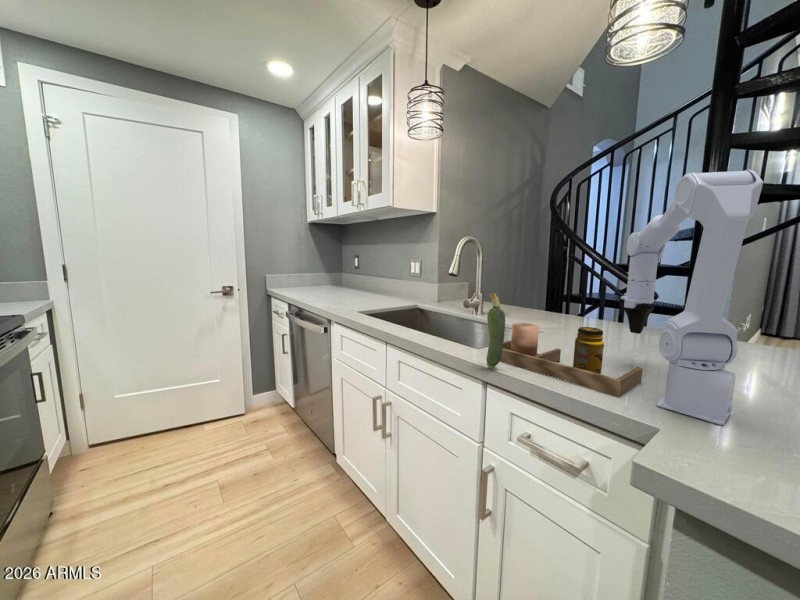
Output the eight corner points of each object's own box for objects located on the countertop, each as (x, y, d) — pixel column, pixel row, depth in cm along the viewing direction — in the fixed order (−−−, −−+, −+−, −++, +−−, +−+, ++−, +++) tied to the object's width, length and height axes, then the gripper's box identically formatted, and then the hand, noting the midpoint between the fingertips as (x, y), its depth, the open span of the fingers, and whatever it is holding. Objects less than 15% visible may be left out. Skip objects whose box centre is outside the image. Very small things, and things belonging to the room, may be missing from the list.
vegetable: (500, 367, 86) (504, 291, 83) (504, 372, 82) (508, 293, 79) (483, 366, 86) (487, 291, 84) (486, 372, 82) (490, 293, 79)
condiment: (609, 381, 77) (614, 331, 75) (578, 383, 75) (582, 333, 74) (586, 370, 84) (590, 325, 82) (557, 372, 82) (560, 326, 81)
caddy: (640, 382, 76) (645, 341, 75) (618, 397, 68) (623, 351, 67) (515, 349, 102) (517, 318, 101) (488, 357, 94) (489, 324, 92)
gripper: (633, 278, 91) (628, 326, 93) (612, 281, 82) (607, 333, 84) (664, 280, 85) (658, 331, 87) (646, 283, 77) (640, 339, 78)
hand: (635, 332), depth 85 cm, fingers closed
